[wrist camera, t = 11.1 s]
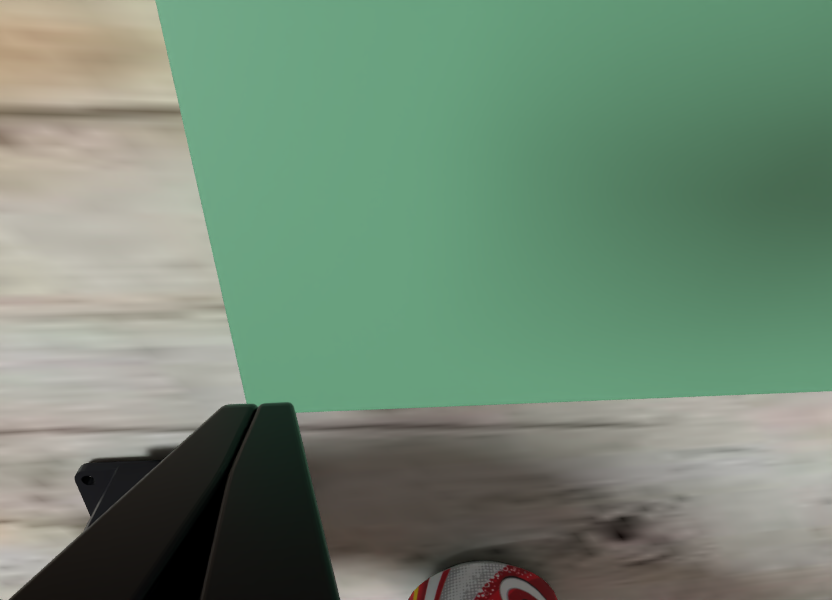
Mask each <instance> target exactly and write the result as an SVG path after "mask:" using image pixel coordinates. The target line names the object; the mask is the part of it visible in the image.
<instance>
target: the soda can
mask: <svg viewBox="0 0 832 600" xmlns="http://www.w3.org/2000/svg"><path fill="white" fill-rule="evenodd" d="M408 600H557V597H556V595H555V593H554V591H553V589H552V588H551V587H550V586H549V584H548V583H546V582H545V581H544V580H543V579H542V578H540V577H539V576H537V575H535V574H534V573H532V572H529V571H527V570H525V569H522V568H519V567H516V566H512V565H508V564H505V563H501V562H495V561H472V562H466V563H462V564H458V565H455V566H453V567H450V568H448V569H446V570H444V571H442V572H439V573H437V574H436V575H434V576H432V577H430V578H428V579H427V580H426V581H424V582H423V583H422V584H420V585H419V586H418V587H417V588H416V589H415V590H414V591H413V593H412V594H411V596H410V597H409V599H408Z"/></svg>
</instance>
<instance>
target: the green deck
mask: <svg viewBox="0 0 832 600" xmlns="http://www.w3.org/2000/svg"><path fill="white" fill-rule="evenodd" d="M155 1H156V5H157V9H158V14H159V18H160V23H161V27H162V31H163V36H164V40H165V45H166V49H167V54H168V58H169V62H170V67H171V71H172V76H173V80H174V84H175V89H176V93H177V98H178V102H179V106H180V111H181V115H182V120H183V124H184V129H185V133H186V137H187V142H188V146H189V151H190V155H191V159H192V164H193V168H194V173H195V177H196V182H197V186H198V190H199V195H200V199H201V204H202V208H203V212H204V217H205V221H206V226H207V230H208V234H209V239H210V243H211V248H212V252H213V257H214V261H215V265H216V270H217V274H218V279H219V283H220V287H221V292H222V296H223V301H224V305H225V309H226V314H227V318H228V323H229V327H230V332H231V336H232V340H233V345H234V349H235V354H236V358H237V362H238V367H239V371H240V376H241V380H242V385H243V389H244V393H245V398H246V402H247V404H255V405H257V406H260V405H261V404H263V403H277V402H290V403H292V404H293V406H294V409H295V413H299V412H324V411H349V410H373V409H398V408H423V407H448V406H473V405H497V404H522V403H547V402H572V401H597V400H621V399H646V398H671V397H696V396H720V395H745V394H770V393H795V392H820V391H832V0H155Z"/></svg>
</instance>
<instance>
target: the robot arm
mask: <svg viewBox="0 0 832 600" xmlns="http://www.w3.org/2000/svg"><path fill="white" fill-rule="evenodd" d="M90 476H91V477H90ZM75 482H76V484H77V486H78V489H79V491H80V493H81V496H82V498H83V500H84V502H85V505H86V507H87V509H88V512H89V514H90V516H91V518H90V520H89V521H88V523H87V525H86V527H85V529H84V531H83V533H82V534H81V535H79V536H78V537H77V538H76V539H75V540H74V541H73V542H72V543H71V544H70V545H68V546H67V547H66V548H65V549H64V550H63V551H62V552H61V553H60V554H58V555H57V556H56V557H55V558H54V559H53V560H52V561H51V562H50V563H49V564H47V565H46V566H45V567H44V568H43V569H42V570H41V571H40V572H39V573H37V574H36V575H35V576H34V577H33V578H32V579H31V580H30V581H29V582H28V583H26V584H25V585H24V586H23V587H22V588H21V589H20V590H19V591H18V592H16V593H15V594H14V595H13V596H12V597H11V598H10V599H9V600H340V597H339V593H338V588H337V584H336V580H335V576H334V572H333V568H332V563H331V559H330V555H329V551H328V547H327V543H326V538H325V534H324V530H323V526H322V522H321V518H320V513H319V509H318V505H317V501H316V497H315V492H314V488H313V484H312V480H311V476H310V472H309V467H308V463H307V459H306V455H305V451H304V447H303V442H302V438H301V434H300V430H299V426H298V421H297V417H296V413H295V409H294V406H293V404H292V403H290V402H277V403H263V404H261V405H260V406H257V405H255V404H229V405H225V406H223V407H221V408H220V409H219V410H218V411H216V412H215V413H214V414H213V415H212V416H211V417H210V418H209V419H208V420H207V421H205V422H204V423H203V424H202V425H201V426H200V427H199V428H198V429H197V430H195V431H194V432H193V433H192V434H191V435H190V436H189V437H188V438H187V439H186V440H184V441H183V442H182V443H181V444H180V445H179V446H178V447H177V448H176V449H174V450H173V451H172V452H171V453H170V454H169V455H168V456H167V457H166V458H165V459H163V460H150V461H125V462H100V463H86V464H83V465H82V466H81V467H80V468H79V470H78V472H77V473H76V475H75ZM0 600H1V599H0Z"/></svg>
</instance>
